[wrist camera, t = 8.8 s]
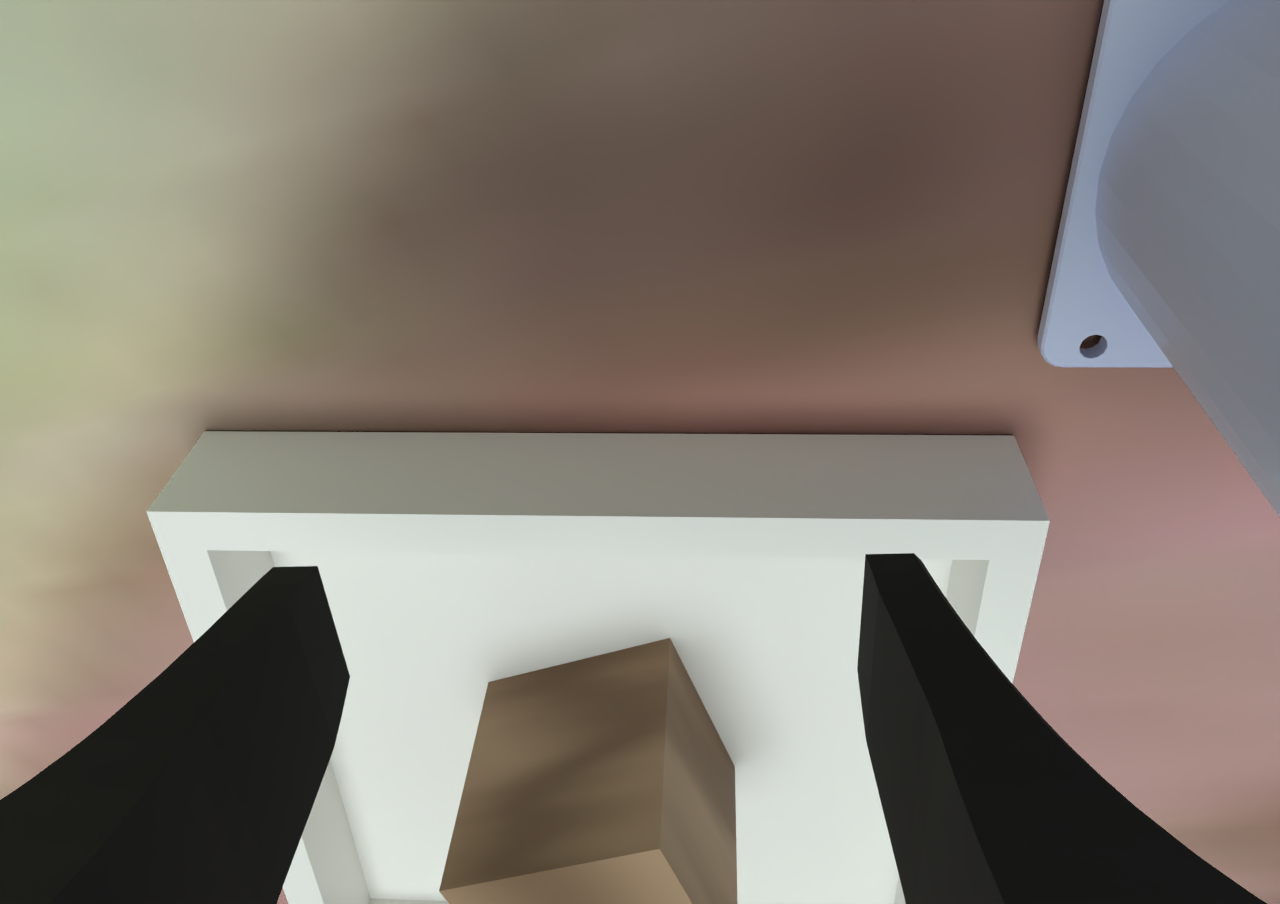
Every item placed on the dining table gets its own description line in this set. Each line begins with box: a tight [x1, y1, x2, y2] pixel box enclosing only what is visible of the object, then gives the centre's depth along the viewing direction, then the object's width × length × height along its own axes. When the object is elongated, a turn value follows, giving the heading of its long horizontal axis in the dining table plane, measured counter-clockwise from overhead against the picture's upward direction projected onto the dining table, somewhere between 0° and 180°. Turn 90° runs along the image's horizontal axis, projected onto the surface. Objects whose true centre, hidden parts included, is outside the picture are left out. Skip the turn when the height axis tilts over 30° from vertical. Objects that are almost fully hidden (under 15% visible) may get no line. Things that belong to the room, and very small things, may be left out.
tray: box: [147, 431, 1050, 904], centre depth 28 cm, size 18×18×3 cm
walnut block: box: [439, 638, 737, 904], centre depth 26 cm, size 5×5×6 cm
